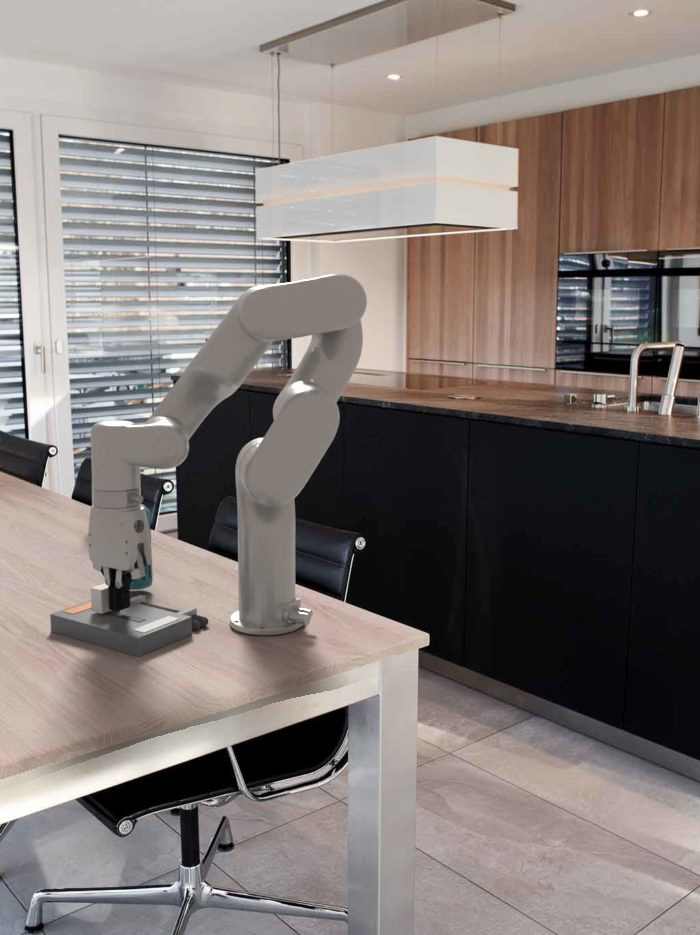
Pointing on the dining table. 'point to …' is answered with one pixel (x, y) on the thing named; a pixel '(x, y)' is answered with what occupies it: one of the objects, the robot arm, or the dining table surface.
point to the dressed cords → (192, 612)
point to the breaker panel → (123, 627)
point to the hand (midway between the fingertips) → (119, 608)
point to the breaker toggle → (100, 599)
